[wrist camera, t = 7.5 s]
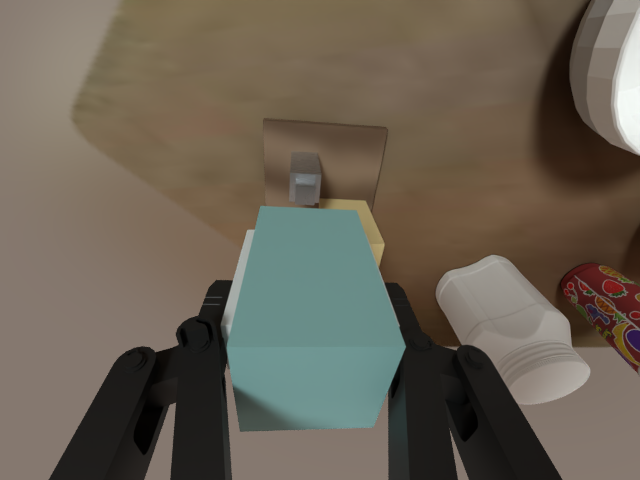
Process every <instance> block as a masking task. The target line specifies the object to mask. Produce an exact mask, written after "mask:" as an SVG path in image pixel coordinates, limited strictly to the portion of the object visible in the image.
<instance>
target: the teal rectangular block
mask: <svg viewBox="0 0 640 480" xmlns="http://www.w3.org/2000/svg"><path fill="white" fill-rule="evenodd" d="M405 348H406V345H405V343H404V340H403V337H402V334H401V332H400V329H399V326H398V323H397V321H396V318H395V315H394V312H393V309H392V307H391V304H390V301H389V298H388V296H387V293H386V290H385V287H384V285H383V282H382V279H381V276H380V273H379V271H378V268H377V265H376V262H375V260H374V257H373V254H372V251H371V249H370V246H369V243H368V240H367V237H366V235H365V232H364V229H363V226H362V224H361V221H360V218H359V215H358V213H357V210H339V209H317V208H295V207H273V206H260V210H259V214H258V219H257V223H256V227H255V231H254V235H253V239H252V243H251V248H250V252H249V256H248V260H247V264H246V268H245V273H244V277H243V281H242V285H241V289H240V293H239V297H238V302H237V306H236V310H235V314H234V318H233V322H232V327H231V331H230V335H229V339H228V343H227V353H228V360H229V366H230V372H231V378H232V384H233V390H234V397H235V403H236V409H237V415H238V422H239V428H240V431H241V432H243V431H273V430H305V429H332V428H333V429H336V428H364V427H365V428H366V427H373V426H374V424H375V422H376V419H377V417H378V414H379V412H380V409H381V407H382V404H383V402H384V399H385V397H386V394H387V392H388V390H389V387H390V385H391V382H392V380H393V377H394V375H395V372H396V370H397V367H398V365H399V362H400V360H401V358H402V355H403V353H404V350H405Z"/></svg>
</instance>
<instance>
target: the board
mask: <svg viewBox="0 0 640 480" xmlns="http://www.w3.org/2000/svg"><path fill="white" fill-rule="evenodd" d="M263 131H264V168H265V204H266V206H273V207H295V208H317V209H319V203H315V204H314V205H296V204H295V202H289V189H290V164H291V151H298V152H313V153H318V158H319V164H320V170H321V185H320V196H319V198H322V199H343V200H363V201H366V203H367V205H368V207H369V210H370V212H371V210H372V205H373V200H374V195H375V191H376V186H377V181H378V176H379V171H380V166H381V161H382V156H383V152H384V147H385V142H386V137H387V132H388V129H387V128H386V127H377V126H364V125H350V124H337V123H324V122H310V121H297V120H283V119H270V118H264V120H263Z"/></svg>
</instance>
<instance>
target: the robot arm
mask: <svg viewBox="0 0 640 480" xmlns="http://www.w3.org/2000/svg"><path fill="white" fill-rule="evenodd" d="M254 231H255V230H247V233H246V237H245V240H244V244H243V248H242V251H241V255H240V258H239V262H238V265H237V269H236V272H235V276H234V279H233V280H232V281H231V280H216V281H215V282H214V283H213V284H212V285H211V286H210V287H209V289H208V292H207V294H206V298H205V299H204V302H203V305H202V307H201V310H200V313H199V315H198V316H195V317H192V318H189V319H188V320H186V321H184V322H183V323H182V324H181V325H180V326H179V327H178V329H177V332H176V337H177V340H178V343H179V345H178V346H175V347H173V348H170V349H166V350H162V351H159V352H155V351H154V350H153V349H151V348H150V347H143V346H142V347H136V348H133V349H131V350H129V351H126V352H125V353H124V354H122V355H121V356H120V357H119V358H118V359H117V360H116V362H115V363H114V364H113V366H112V368H111V370H110V372H109V373H108V375H107V377H106V379H105V380H104V382H103V384H102V386H101V388H100V389H99V391H98V393H97V395H96V396H95V398H94V400H93V402H92V404H91V405H90V407H89V409H88V411H87V413H86V414H85V416H84V418H83V420H82V421H81V423H80V425H79V427H78V429H77V430H76V432H75V434H74V436H73V437H72V439H71V441H70V443H69V445H68V446H67V448H66V450H65V452H64V453H63V455H62V457H61V459H60V461H59V462H58V464H57V466H56V468H55V470H54V471H53V473H52V475H51V477H50V479H49V480H144V478H145V476H146V473H147V470H148V467H149V464H150V461H151V458H152V455H153V452H154V449H155V446H156V443H157V440H158V437H159V434H160V431H161V429H162V426H163V423H164V420H165V417H166V413H167V411H168V408H169V405H170V404H173V403H176V411H175V426H174V439H173V451H172V465H171V478H170V480H232V473H231V459H230V458H231V457H230V442H229V428H228V413H227V397H226V381H225V375H224V373H225V368H226V364H227V367H228V369H230V366H229V360H228V353H227V343H228V339H229V335H230V331H231V327H232V322H233V318H234V314H235V310H236V306H237V302H238V297H239V293H240V289H241V285H242V281H243V277H244V273H245V268H246V264H247V260H248V256H249V252H250V248H251V243H252V239H253V235H254ZM365 235H366V234H365ZM366 237H367V235H366ZM367 240H368V238H367ZM368 243H369V241H368ZM369 246H370V243H369ZM370 249H371V246H370ZM371 251H372V249H371ZM372 254H373V251H372ZM373 257H374V254H373ZM374 260H375V257H374ZM375 262H376V260H375ZM376 265H377V262H376ZM377 268H378V265H377ZM378 271H379V268H378ZM379 273H380V271H379ZM380 276H381V273H380ZM381 279H382V276H381ZM382 282H383V285H384V287H385V290H386V293H387V296H388V298H389V301H390V304H391V307H392V309H393V312H394V315H395V318H396V321H397V323H398V326H399V329H400V332H401V334H402V337H403V340H404V343H405V345H406V348H405V350H404V353H403V355H402V358H401V360H400V362H399V365H398V367H397V370H396V372H395V375H394V377H393V380H392V382H391V385H390V387H389V390H388V412H389V413H388V419H389V420H388V427H389V428H388V429H389V431H388V432H389V433H388V435H389V436H388V438H389V439H388V440H389V441H388V443H389V444H388V445H389V446H388V447H389V448H388V449H389V450H388V453H389V454H388V455H389V480H458V478H457V471H456V465H455V460H454V453H453V448H452V442H451V436H450V431H451V433H452V436H453V438H454V441H455V444H456V446H457V449H458V451H459V454H460V457H461V460H462V462H463V465H464V467H465V470H466V473H467V475H468V478H469V480H562V478H561V476H560V475H559V473H558V471H557V470H556V468H555V466H554V465H553V463H552V461H551V460H550V458H549V456H548V455H547V453H546V451H545V450H544V448H543V446H542V445H541V443H540V441H539V440H538V438H537V436H536V435H535V433H534V431H533V429H532V428H531V426H530V424H529V423H528V421H527V420H526V418H525V416H524V415H523V413H522V411H521V409H520V408H519V406H518V404H517V403H516V401H515V399H514V398H513V396H512V394H511V393H510V391H509V389H508V388H507V386H506V384H505V383H504V381H503V379H502V378H501V376H500V374H499V373H498V371H497V369H496V368H495V366H494V364H493V362H492V361H491V359H490V358H489V357H488V355H487V354H486V353H485V352H483V351H482V350H481V349H479V348H477V347H475V346H472V345H461V346H460V347H459V348H458V349H457V351H456V350H453V349H449V348H445V347H442V346H439V345H437V344H435V343H434V342H433V340H432V339H431V338H430V337H429V336H428V335H426V334H425V333H423V332H422V330H421V328H420V326H419V324H418V321H417V319H416V317H415V314H414V312H413V310H412V308H411V307H410V303H409V301H408V300H407V296H406V294H405V292H404V290H403V289H402V288H401V287H400V286H399V285H398V284H397V283H384V281H383V279H382ZM449 428H450V429H449Z"/></svg>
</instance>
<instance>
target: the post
mask: <svg viewBox="0 0 640 480" xmlns="http://www.w3.org/2000/svg"><path fill="white" fill-rule="evenodd" d="M320 185H321V170H320V164H319V158H318V153H313V152H298V151H291V164H290V189H289V202H295V204H296V205H314V204H315V203H319V196H320Z"/></svg>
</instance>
